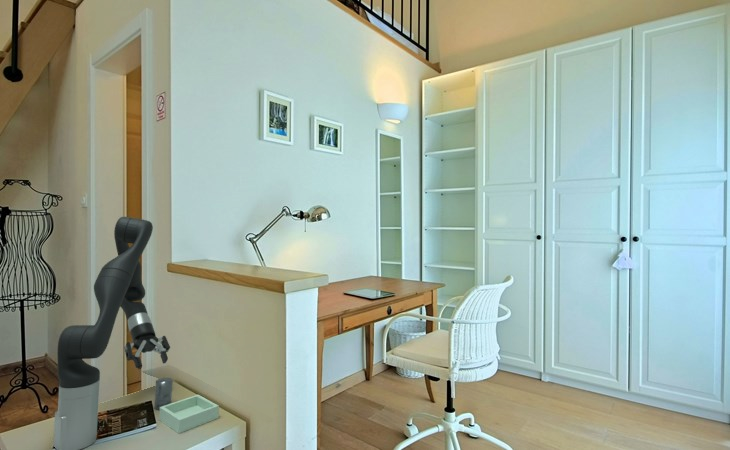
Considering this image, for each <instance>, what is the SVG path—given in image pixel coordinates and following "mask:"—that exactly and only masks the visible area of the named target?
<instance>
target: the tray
mask: <svg viewBox="0 0 730 450" xmlns="http://www.w3.org/2000/svg"><path fill="white" fill-rule="evenodd" d="M219 409H220V405H219V404H216V403H214V402H213V401H211V400H209V399H207V398H205V397H203V396H202V395H200V394H195V395H193V396H192V395H191V396H190V397H187V398H183V399H180V400H178V401H177V400H176V401H175V402H171V404H168V405H165V406H162V407H160V410H158V411H159V415H158V420H159V421H160V422H162V423H163V424H164V425H166V426H167V427H169V428H170V429H172V430H173V431H174V432H176V433H177V434H182V433H185V432H186V431H189V430H192V429H194V428H196V427H199V426H201V425H203V424H204V425H205V424H206V423H209V422H211V421H214V420H217V419H219V412H220V411H219Z"/></svg>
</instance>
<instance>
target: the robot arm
mask: <svg viewBox="0 0 730 450" xmlns="http://www.w3.org/2000/svg"><path fill="white" fill-rule="evenodd" d="M153 227H154V226H153V223H152V222H151V221H149V220H146V219H142V218H137V217H130V216H121V217H119V218H118V219H117V221H116V223H115V226H114V231H113V232H114V234H113V235H114V236H113V237H114V243H115V247H116V253H117V256H115V257H114V258H112V259H111V260H109V261H108V262H106V264H104V265H103V266H102V267H101V269H100V271H99V273H98V275H97V276H96V279H95V281H94V285H93V292H94V295H95V298H96V301H97V304H98V307H99V314H98V318H97V320H96V322H95V324H93V325H89V324H88V325H87V324H86V325H83V324H82V325H80V324H77V325H73V324H72V325H69V326H67V327H65V328H64V329H63V330H62V331H61V333H60V335H59V338H58V341H57V342H58V343H57V352H56V354H57V377H58V381H59V384H58V403H57V411H55V412H54V426H53V444H52V446H53V448H54V447H55V448H56V449H57V450H82V449H85V448H87V447H90V446H91V445H92V444H94V443H95V442H96V440H97V436H98V435H97V433H98V416H99V413H98V412H99V401H100V400H99V397H100V396H99V395H100V379H101V378H100V377H101V372H100V369H99V368H98V367H96V366H93V365H91V364H89V363H87V362H85V360H88V359H89V360H90V359H98V358H100V357H101V356H102V355H103V354H104V352H105V351H106V349H107V347H108V345H109V343H110V339H111V336H112V332H113V331H114V330H113V329H114V326H115V323H116V319H117V317H118V313H119V311H120V308H121V309H122V311H123V312H124V315H125V317H126V320H127V325H128V326H127V327H128V331H129V333H130V336H131V341H132V342H129V341H128V342H126V343H125V345H124V347H123V348H124V352H125V353H124V354H125V358H126V360H127V361H133V364H134V366H135V368H136V369H138V370H141V369H142V368H143V363H142V360H141V357H140V354H141V353H143V354H145V353H147V352H155V353H158V354H160V358H161V361H162V364H166V363H167V361H168V359H169V358H168V355H167V353H168V352H169V351H170V350H171V345H170V343H169V341H168V338H167V336H166V335H162V336H161V337H157V335H156V332H155V328H154V326H153V323H152V320H151V318H150V316H149V314H148V311H147V308H146V306H145V303H144V302H141V301H142V300H143V299H144V298H145V297H146V289H145V287H144V285H143V282H142V265H141V262H140V259H141V256H142V255H143V253H144V251H145V248H146V247H147V245H148V243H149V241H150V239H151V236H152V234H153V229H154V228H153ZM129 244H131V246H130V245H129ZM139 301H140V302H139ZM133 348H134V349H135V350H137V351H136V353H134V354H133V350H132V349H133ZM83 359H84V360H83ZM55 448H54V449H55ZM56 449H55V450H56Z"/></svg>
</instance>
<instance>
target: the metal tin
mask: <svg viewBox="0 0 730 450" xmlns="http://www.w3.org/2000/svg"><path fill="white" fill-rule="evenodd" d="M173 381H174V379H173V377H161V378H158V379H156V380H155V388H154V389H155V390H154V405H153V408H154V409H155V410H156V411H160V407H162V406H165V405H168V404H171V403H172V399H173V398H172V396H173V394H172V393H173Z"/></svg>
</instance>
